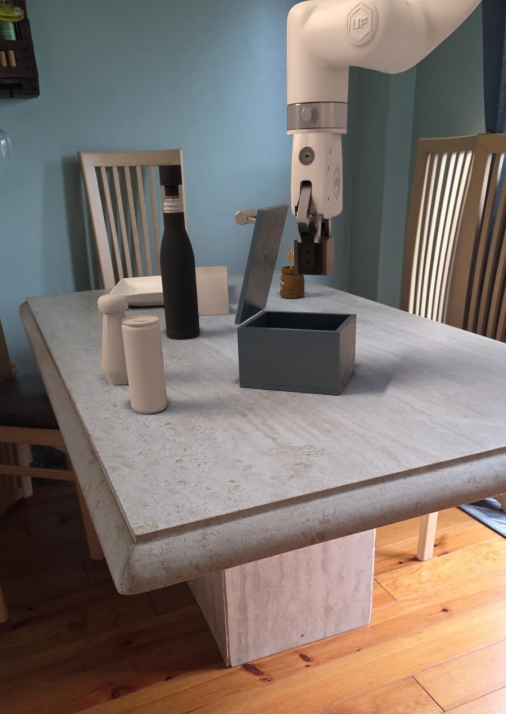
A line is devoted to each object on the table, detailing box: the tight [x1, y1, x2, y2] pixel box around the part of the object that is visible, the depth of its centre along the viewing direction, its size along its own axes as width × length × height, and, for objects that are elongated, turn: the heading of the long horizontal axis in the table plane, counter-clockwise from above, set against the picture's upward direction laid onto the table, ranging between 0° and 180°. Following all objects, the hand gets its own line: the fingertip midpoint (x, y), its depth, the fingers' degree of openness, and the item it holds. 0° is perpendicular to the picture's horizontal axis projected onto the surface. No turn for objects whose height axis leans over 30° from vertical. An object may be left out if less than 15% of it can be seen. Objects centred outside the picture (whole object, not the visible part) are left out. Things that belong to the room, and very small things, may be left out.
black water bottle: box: [158, 164, 201, 340], centre depth 114 cm, size 6×6×30 cm
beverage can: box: [122, 315, 168, 415], centre depth 81 cm, size 5×5×12 cm
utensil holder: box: [279, 246, 306, 300], centre depth 150 cm, size 6×6×12 cm
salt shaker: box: [97, 293, 129, 386], centre depth 93 cm, size 6×6×13 cm
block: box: [293, 236, 335, 277], centre depth 85 cm, size 4×4×4 cm
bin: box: [236, 309, 357, 396], centre depth 91 cm, size 15×12×9 cm
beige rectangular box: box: [195, 265, 230, 316], centre depth 136 cm, size 4×7×10 cm, turn 90°
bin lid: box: [234, 203, 290, 326], centre depth 88 cm, size 15×12×5 cm
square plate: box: [109, 275, 164, 307], centre depth 156 cm, size 27×27×4 cm
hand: (314, 269), depth 86 cm, fingers closed on block, 4 cm apart
